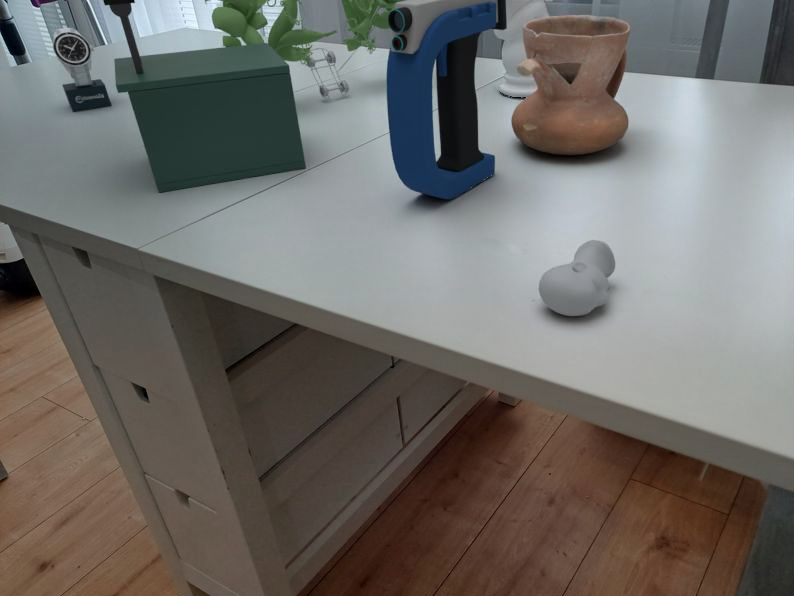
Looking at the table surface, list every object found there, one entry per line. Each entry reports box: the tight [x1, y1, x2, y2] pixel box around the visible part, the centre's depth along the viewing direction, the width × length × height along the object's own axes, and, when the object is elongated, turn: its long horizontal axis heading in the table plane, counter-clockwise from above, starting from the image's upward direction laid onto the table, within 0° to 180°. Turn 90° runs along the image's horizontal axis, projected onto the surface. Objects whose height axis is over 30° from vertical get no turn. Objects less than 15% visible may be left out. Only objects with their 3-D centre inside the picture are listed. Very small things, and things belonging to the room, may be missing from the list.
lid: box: [108, 3, 291, 94], centre depth 73 cm, size 18×13×8 cm
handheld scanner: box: [386, 0, 507, 200], centre depth 68 cm, size 5×16×20 cm, turn 146°
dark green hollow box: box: [127, 72, 307, 193], centre depth 79 cm, size 17×13×11 cm
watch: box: [52, 27, 112, 113], centre depth 100 cm, size 6×8×11 cm
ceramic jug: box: [510, 14, 631, 156], centre depth 81 cm, size 18×14×14 cm
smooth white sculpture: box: [538, 239, 616, 317], centre depth 53 cm, size 4×8×5 cm
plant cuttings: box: [204, 0, 406, 101], centre depth 103 cm, size 35×17×22 cm
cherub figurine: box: [493, 0, 554, 98], centre depth 98 cm, size 12×12×22 cm
